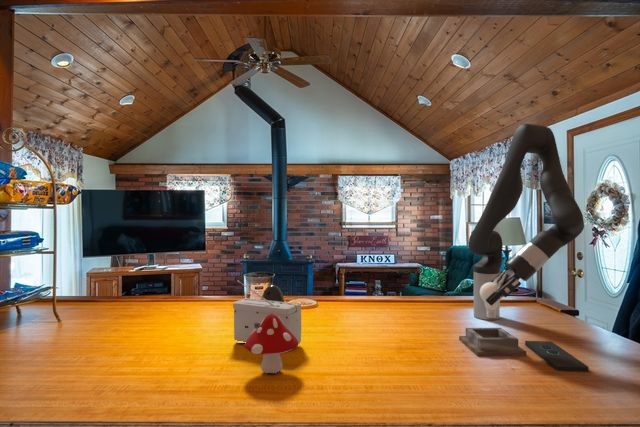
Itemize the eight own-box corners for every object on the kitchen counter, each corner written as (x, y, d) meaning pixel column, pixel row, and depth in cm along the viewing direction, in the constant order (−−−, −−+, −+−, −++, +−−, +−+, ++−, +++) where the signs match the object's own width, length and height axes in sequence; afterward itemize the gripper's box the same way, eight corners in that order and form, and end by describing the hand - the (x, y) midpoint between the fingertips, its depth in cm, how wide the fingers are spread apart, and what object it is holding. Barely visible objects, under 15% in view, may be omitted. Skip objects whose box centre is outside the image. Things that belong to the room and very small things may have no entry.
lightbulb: (505, 322, 114) (505, 284, 114) (482, 321, 115) (481, 283, 116) (500, 316, 120) (499, 280, 120) (478, 315, 122) (477, 280, 122)
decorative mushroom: (275, 389, 91) (274, 325, 91) (232, 376, 98) (231, 316, 98) (309, 368, 103) (308, 311, 103) (268, 358, 110) (267, 305, 110)
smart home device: (551, 340, 120) (590, 367, 100) (551, 346, 120) (590, 373, 100) (523, 340, 121) (556, 365, 101) (523, 345, 121) (556, 372, 101)
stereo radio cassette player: (302, 345, 121) (302, 280, 121) (289, 354, 113) (288, 285, 113) (246, 336, 130) (245, 276, 130) (230, 344, 122) (230, 280, 122)
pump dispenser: (252, 330, 136) (251, 287, 136) (267, 322, 145) (266, 281, 145) (278, 334, 132) (278, 289, 132) (292, 325, 142) (291, 283, 141)
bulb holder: (459, 339, 125) (459, 326, 125) (502, 339, 125) (502, 326, 125) (477, 356, 111) (477, 341, 111) (526, 355, 111) (526, 340, 111)
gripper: (509, 250, 124) (470, 287, 126) (525, 255, 110) (481, 296, 112) (528, 267, 123) (488, 304, 125) (546, 274, 109) (501, 315, 111)
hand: (485, 300), depth 118 cm, fingers closed on lightbulb, 6 cm apart
